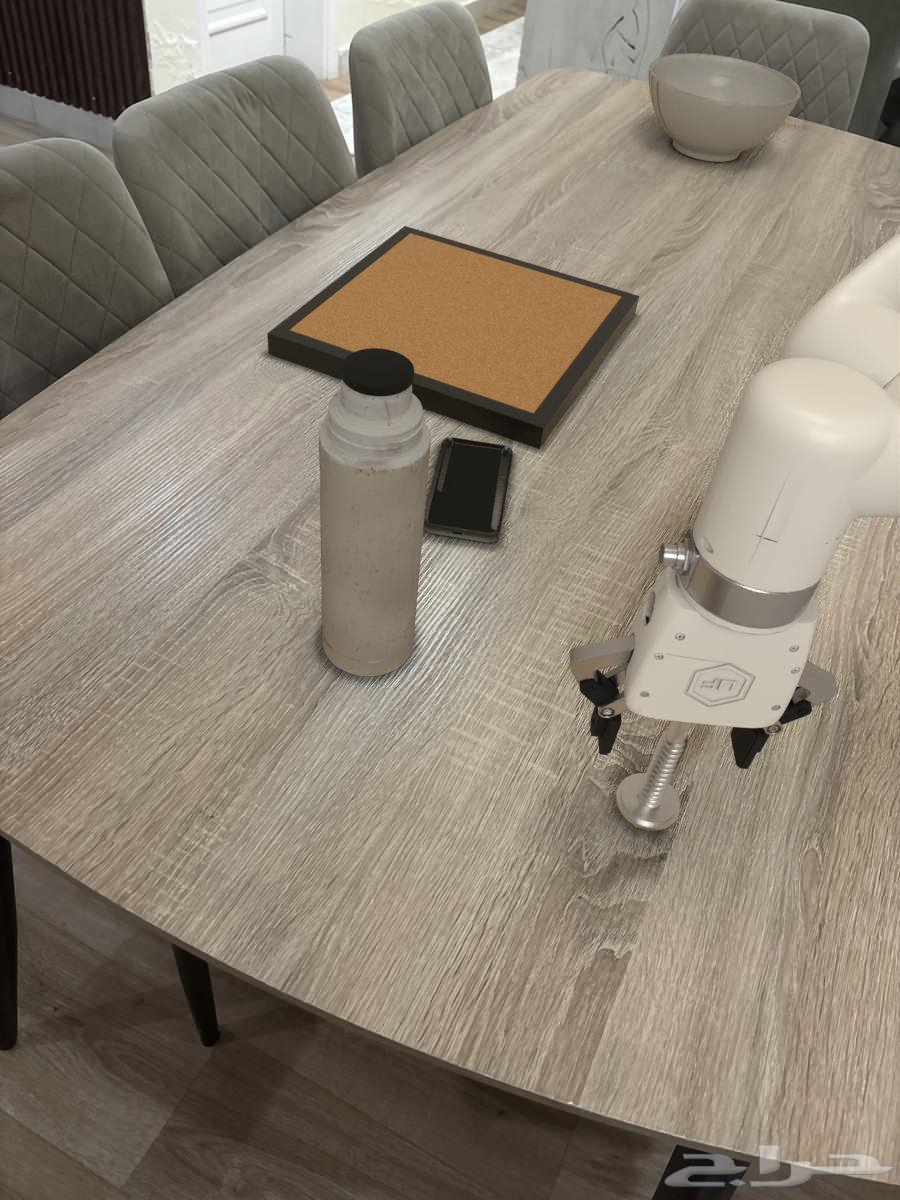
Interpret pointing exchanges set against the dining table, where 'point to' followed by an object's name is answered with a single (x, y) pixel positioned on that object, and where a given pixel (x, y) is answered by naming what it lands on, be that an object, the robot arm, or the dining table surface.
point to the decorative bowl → (718, 103)
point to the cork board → (465, 330)
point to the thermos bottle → (372, 513)
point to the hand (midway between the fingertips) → (670, 745)
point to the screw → (655, 784)
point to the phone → (468, 490)
